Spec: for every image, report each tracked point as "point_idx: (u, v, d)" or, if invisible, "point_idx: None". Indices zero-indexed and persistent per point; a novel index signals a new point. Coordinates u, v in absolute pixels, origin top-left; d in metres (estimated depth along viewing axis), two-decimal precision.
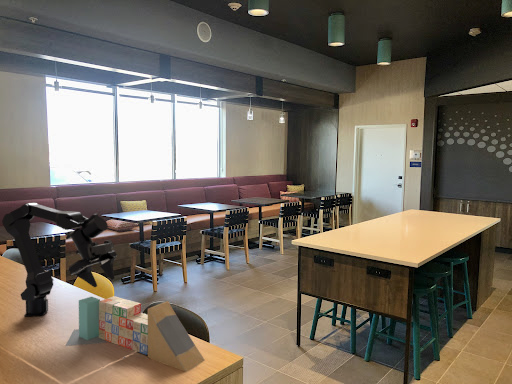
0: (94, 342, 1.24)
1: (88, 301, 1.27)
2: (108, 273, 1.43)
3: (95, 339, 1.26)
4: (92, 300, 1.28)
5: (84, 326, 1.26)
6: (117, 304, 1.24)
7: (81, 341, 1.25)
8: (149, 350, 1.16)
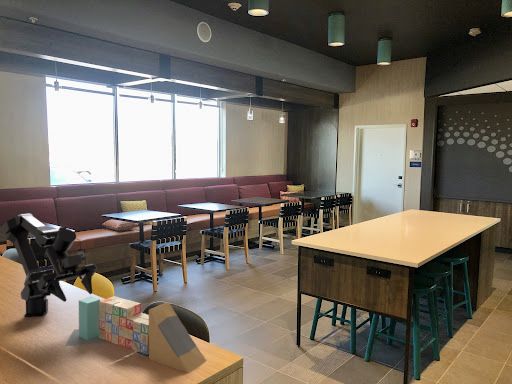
0: (94, 342, 1.24)
1: (88, 301, 1.27)
2: (87, 287, 1.36)
3: (95, 339, 1.26)
4: (92, 300, 1.28)
5: (84, 326, 1.26)
6: (117, 304, 1.24)
7: (81, 341, 1.25)
8: (150, 351, 1.15)
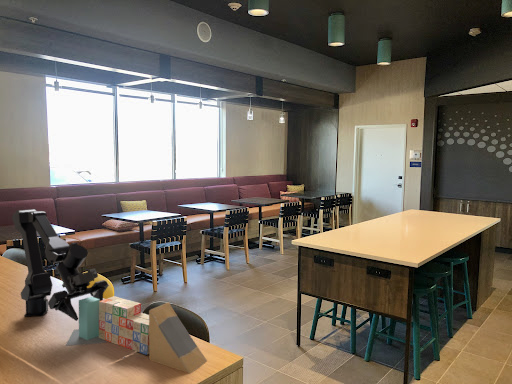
0: (94, 342, 1.24)
1: (88, 301, 1.27)
2: None
3: (95, 339, 1.26)
4: (92, 300, 1.28)
5: (84, 326, 1.26)
6: (117, 304, 1.24)
7: (81, 341, 1.25)
8: (151, 352, 1.15)
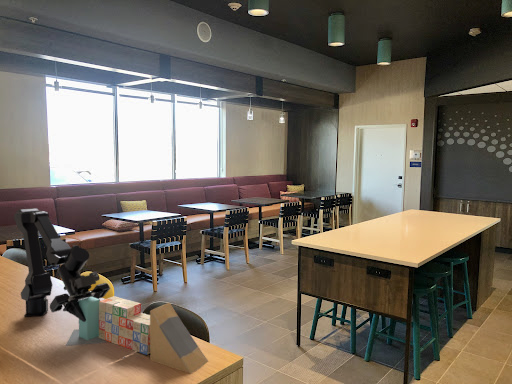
0: (94, 342, 1.24)
1: (88, 301, 1.27)
2: None
3: (95, 339, 1.26)
4: (92, 300, 1.28)
5: (84, 326, 1.26)
6: (117, 304, 1.24)
7: (81, 341, 1.25)
8: (152, 352, 1.15)
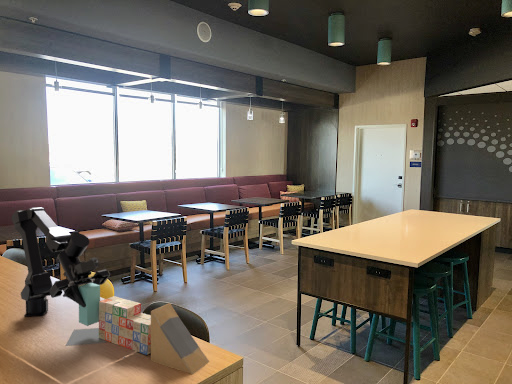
0: (94, 342, 1.24)
1: (88, 287, 1.26)
2: None
3: (95, 339, 1.26)
4: (92, 286, 1.27)
5: (84, 312, 1.26)
6: (117, 304, 1.24)
7: (81, 341, 1.25)
8: (152, 353, 1.14)
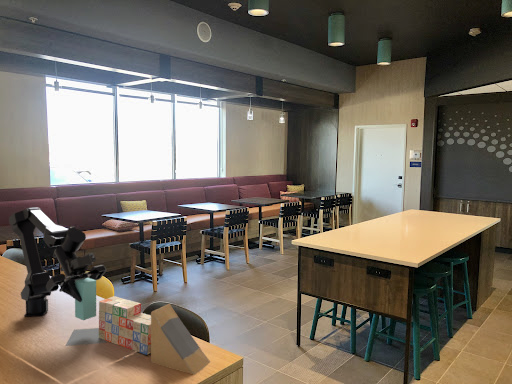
0: (94, 342, 1.24)
1: (84, 282, 1.27)
2: None
3: (95, 339, 1.26)
4: (88, 281, 1.28)
5: (80, 307, 1.27)
6: (117, 304, 1.24)
7: (81, 341, 1.25)
8: (153, 354, 1.13)
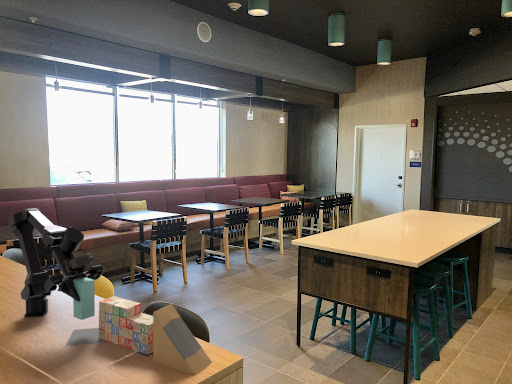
0: (94, 342, 1.24)
1: (82, 281, 1.28)
2: None
3: (95, 339, 1.26)
4: (86, 280, 1.29)
5: (78, 306, 1.27)
6: (117, 304, 1.24)
7: (81, 341, 1.25)
8: (155, 354, 1.14)
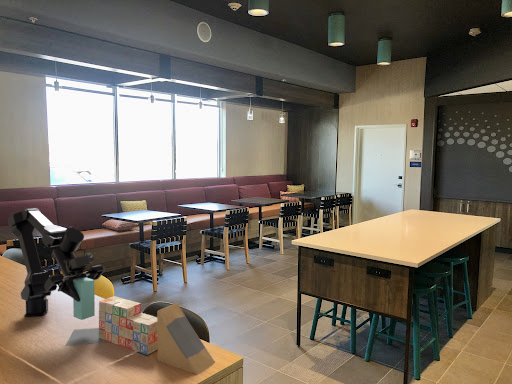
0: (94, 342, 1.24)
1: (82, 281, 1.28)
2: None
3: (95, 339, 1.26)
4: (86, 280, 1.29)
5: (78, 306, 1.27)
6: (117, 304, 1.24)
7: (81, 341, 1.25)
8: (159, 353, 1.15)
